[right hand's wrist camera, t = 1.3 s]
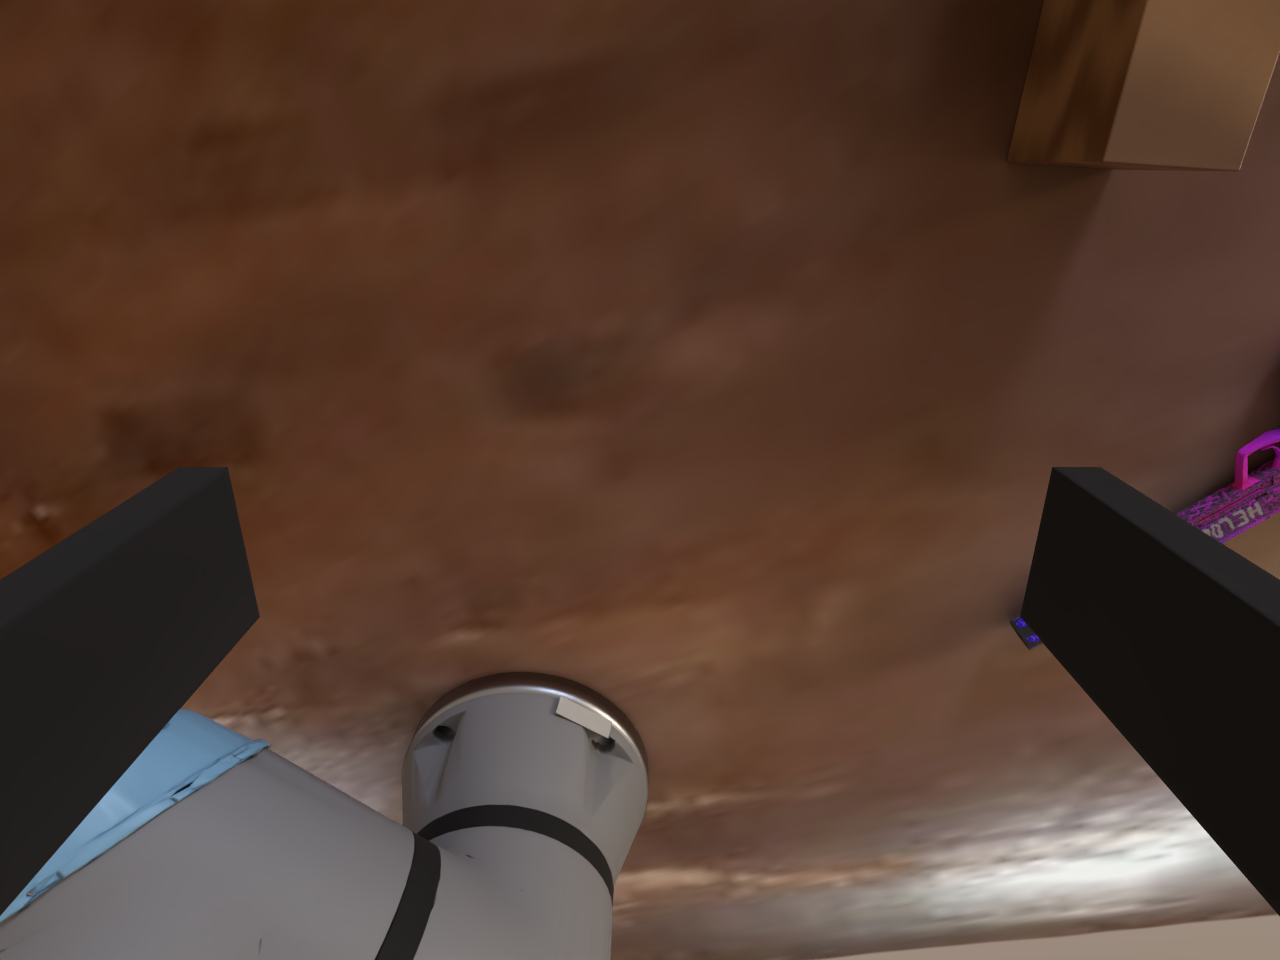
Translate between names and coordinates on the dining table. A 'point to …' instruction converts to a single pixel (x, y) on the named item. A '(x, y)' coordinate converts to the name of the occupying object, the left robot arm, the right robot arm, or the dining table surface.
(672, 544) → the dining table surface
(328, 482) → the dining table surface
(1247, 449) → the handgun
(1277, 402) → the dining table surface
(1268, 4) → the bar
